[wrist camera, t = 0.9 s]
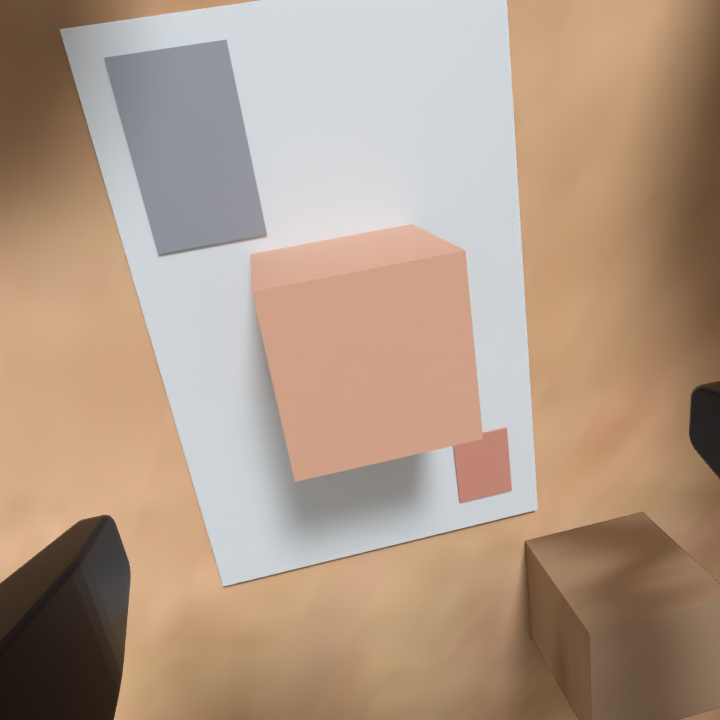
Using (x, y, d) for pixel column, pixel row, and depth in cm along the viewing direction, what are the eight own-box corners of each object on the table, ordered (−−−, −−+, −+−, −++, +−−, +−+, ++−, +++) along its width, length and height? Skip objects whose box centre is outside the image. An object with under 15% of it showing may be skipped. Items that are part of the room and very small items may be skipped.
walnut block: (641, 510, 25) (732, 595, 20) (640, 607, 27) (724, 706, 22) (524, 539, 24) (589, 634, 20) (531, 637, 26) (592, 744, 21)
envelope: (502, -33, 17) (505, -36, 17) (535, 506, 24) (539, 511, 23) (61, 30, 16) (58, 28, 16) (223, 582, 22) (223, 588, 22)
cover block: (411, 223, 19) (465, 250, 14) (430, 372, 21) (483, 439, 16) (250, 254, 18) (251, 292, 14) (283, 403, 20) (295, 481, 16)
